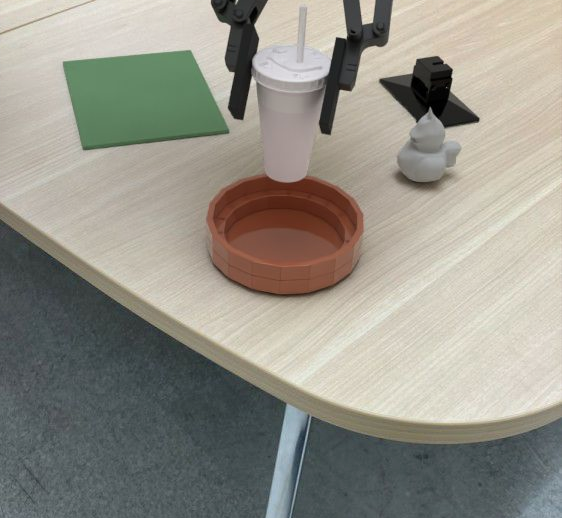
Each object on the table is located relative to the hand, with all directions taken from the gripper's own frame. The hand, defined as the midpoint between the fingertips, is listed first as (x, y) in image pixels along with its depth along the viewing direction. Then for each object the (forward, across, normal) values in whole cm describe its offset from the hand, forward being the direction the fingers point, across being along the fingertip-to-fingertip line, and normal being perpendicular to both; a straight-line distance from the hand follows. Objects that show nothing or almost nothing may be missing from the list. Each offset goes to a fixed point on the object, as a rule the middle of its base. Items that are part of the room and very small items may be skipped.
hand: (280, 121), depth 61 cm
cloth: (-8, +22, -29) cm, 38 cm away
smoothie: (+2, 0, -7) cm, 8 cm away
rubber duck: (-3, -12, -24) cm, 27 cm away
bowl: (+8, 0, -13) cm, 15 cm away
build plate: (-15, -10, -36) cm, 40 cm away
